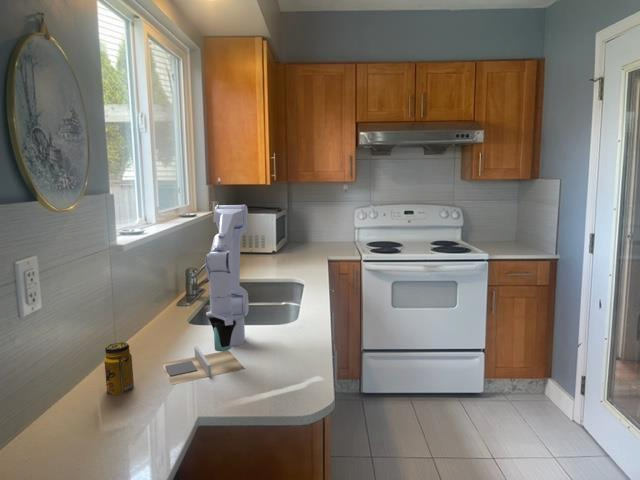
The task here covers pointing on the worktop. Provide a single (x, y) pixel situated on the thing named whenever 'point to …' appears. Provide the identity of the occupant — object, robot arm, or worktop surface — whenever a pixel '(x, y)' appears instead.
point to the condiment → (118, 369)
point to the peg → (217, 342)
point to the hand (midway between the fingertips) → (222, 343)
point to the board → (218, 362)
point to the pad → (181, 368)
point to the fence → (203, 361)
